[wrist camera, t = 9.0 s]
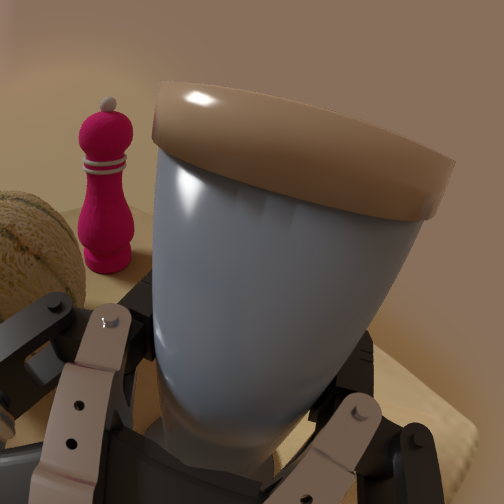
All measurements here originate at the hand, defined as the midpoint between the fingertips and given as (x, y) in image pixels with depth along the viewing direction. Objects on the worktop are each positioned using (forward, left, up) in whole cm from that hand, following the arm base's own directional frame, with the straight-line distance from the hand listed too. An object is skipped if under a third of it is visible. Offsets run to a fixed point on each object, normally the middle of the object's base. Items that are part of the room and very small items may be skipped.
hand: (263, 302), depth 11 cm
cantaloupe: (-20, 0, -15) cm, 25 cm away
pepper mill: (-21, +15, -15) cm, 30 cm away
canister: (0, -3, -8) cm, 8 cm away
